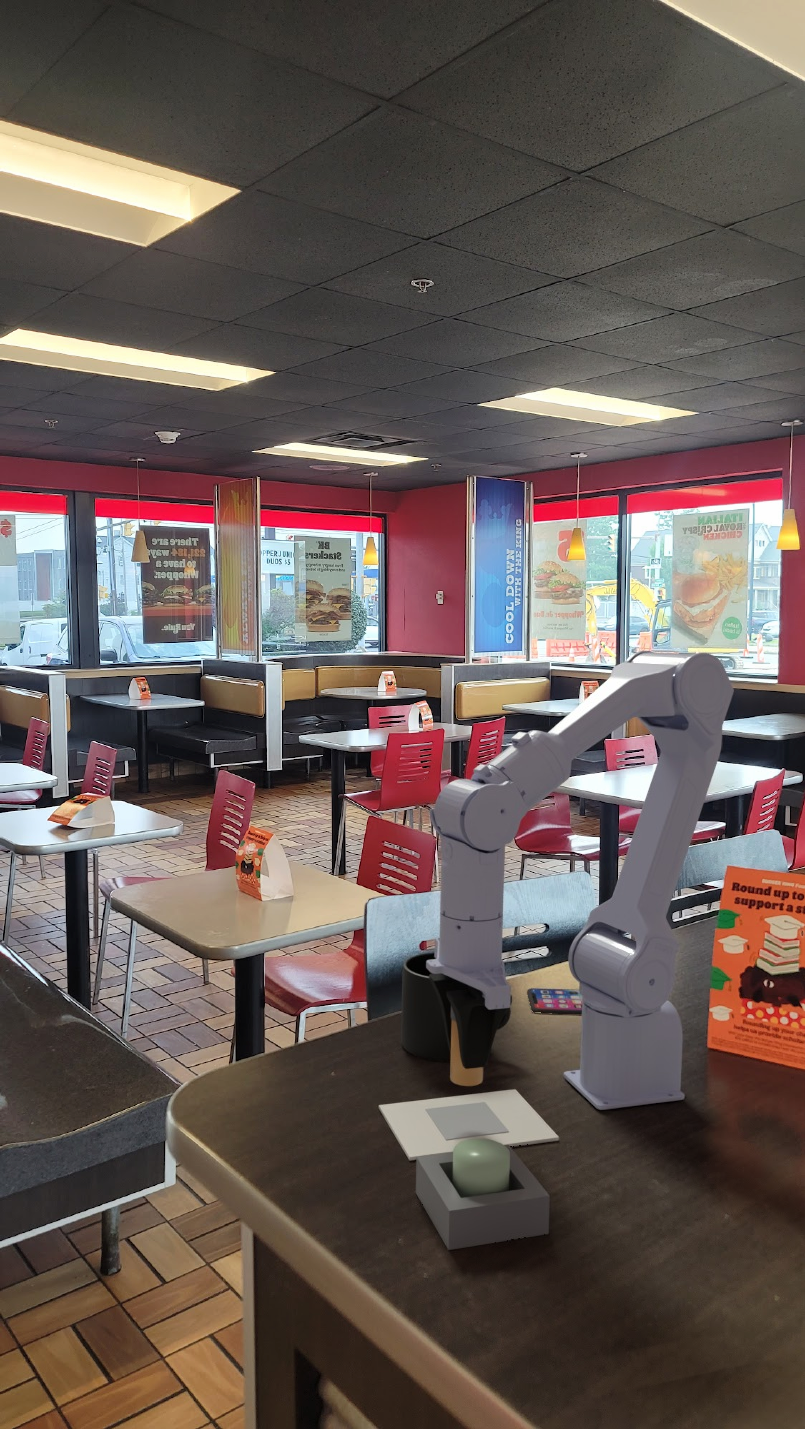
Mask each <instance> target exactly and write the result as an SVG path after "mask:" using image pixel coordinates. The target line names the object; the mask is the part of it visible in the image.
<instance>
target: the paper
mask: <svg viewBox="0 0 805 1429" xmlns="http://www.w3.org/2000/svg"><path fill="white" fill-rule="evenodd" d="M378 1110H379V1112H380V1113H381V1114H382V1117H383V1118H384V1120H385V1122H386V1123H387V1125H388V1127H389V1128H390V1130H391V1132H392V1133H393V1135H394V1137H395V1138H396V1140H397V1142H398V1144H399V1145H400V1147H401V1149H402V1150H403V1152H404V1154H405V1155H406V1157H407V1159H408V1161H409V1162H410V1161H415V1160H417V1157H420V1156H428V1155H435V1154H443V1153H450V1152H453V1149H454V1147H455V1146H456V1145H457V1144H458V1143H460V1142H462V1141H464V1140H468V1139H475V1138H481V1139H489V1140H494V1141H497V1142H499V1143H501V1144H503V1145H509V1146H512V1147H511V1148H513V1146H514V1147H520V1146H519V1145H521V1146H528V1145H534V1144H542V1143H548V1142H549V1143H550V1142H558V1141H560V1137H559V1135H558V1134H556V1132H555V1131H554V1130H553V1128H551V1126H549V1125H548V1123H546V1121H545V1120H544V1119H543V1118H542V1117H541V1116H540V1115H539V1113H538V1112H537V1111H536V1110H535V1109H534V1107H532V1106H531V1105H530V1104H529V1103H528V1102H527V1100H526V1099H525V1098H524V1097H523V1096H522V1095H521V1094H520V1093H519V1092H518V1090H517V1089H516V1088H514V1089H507V1090H506V1089H504V1090H497V1091H490V1092H482V1093H472V1094H464V1095H455V1096H447V1097H446V1096H445V1097H437V1098H431V1099H430V1098H429V1099H422V1100H421V1099H420V1100H414V1101H403V1102H395V1103H387V1104H379V1105H378ZM527 1144H528V1145H527Z"/></svg>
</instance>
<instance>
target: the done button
mask: <svg viewBox="0 0 805 1429" xmlns="http://www.w3.org/2000/svg"><path fill="white" fill-rule="evenodd" d="M509 1172H510V1152H509V1150H508V1148H507V1147H506V1146H504V1145H503V1144H501V1143H499V1142H497V1141H494V1140H489V1139H481V1138H475V1139H468V1140H464V1141H462V1142H460V1143H458V1144H457V1145H456V1146H455V1147H454V1149H453V1182H452V1185H453V1187H454V1188H455V1190H456V1191H457V1193H458V1194H459V1196H460V1197H461V1198H465V1197H472V1196H479V1195H485V1194H492V1193H499V1192H506V1191H509Z"/></svg>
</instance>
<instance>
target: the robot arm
mask: <svg viewBox="0 0 805 1429" xmlns="http://www.w3.org/2000/svg"><path fill="white" fill-rule="evenodd" d="M734 691H735V689H734V688H733V684H732V682H731V680H730V677H729V675H728V673H727V670H726V668H725V667H724V665H723V663H722V662H721V660H719V659H718V657H716V656H715V655H713V654H711V653H707V652H697V653H674V652H654V651H652V650H640V651H637V652H635V653H632V654H631V655H630V656H629V657H627V659H626V660H625V661H624V662H621V663H620V664H619V663H618V664H617V665H615V666H614V667H613V668H612V669H611V673H610V676H609V677H608V679H607V680H605V682H603V683H602V684H601V685H600V686H599V687H598V688H597V689H595V690H594V691H593V692H592V693H591V694H589V696H587V697H586V698H585V699H584V700H583V701H582V702H580V703H579V704H578V705H577V706H575V708H574V709H573V710H572V711H571V712H569V713H568V714H567V715H566V716H564V718H563V719H561V720H560V721H559V722H558V723H557V724H555V726H554V727H552V728H551V729H550V730H549V731H548V732H546V731H542V730H536V729H535V730H534V729H533V730H529V731H528V732H523V731H519V732H517V733H516V734H515V735H512V737H511V738H510V742H511V745H509V746H508V747H507V748H506V749H505V750H503V751H502V752H500V753H499V754H498V755H497V756H495V757H494V758H493V759H491V760H490V761H489V762H487V763H486V764H482V763H480V764H479V765H477V766H476V767H475V768H473V774H472V775H471V777H470V779H469V778H468V779H467V778H463V779H459V778H458V779H455V780H453V781H451V782H449V783H448V784H446V785H445V786H444V787H443V788H442V790H441V791H440V792H439V794H438V796H437V799H436V800H435V804H434V807H432V808H430V809H429V819H430V821H431V822H430V823H431V825H432V827H433V828H434V830H435V831H436V832H437V834H438V837H439V840H440V852H441V858H440V859H441V862H440V863H441V864H440V865H441V866H440V895H439V896H440V898H439V900H440V902H439V903H440V904H439V905H440V906H439V911H440V912H439V913H440V914H439V937H435V938H434V952H435V953H434V957H435V958H436V959H432V960H427V961H426V968H427V969H428V970H429V971H430V972H431V973H432V974H430V975H429V979H430V982H431V984H432V986H433V988H434V990H435V992H436V995H437V998H438V1001H439V1004H440V1007H441V1011H442V1016H443V1021H444V1026H445V1032H446V1038H447V1042H448V1046H449V1050H450V1051H451V1027H452V1019H451V1006H452V1009H453V1012H454V1015H455V1019H456V1023H457V1029H458V1037H459V1049H460V1057H461V1061H462V1065H463V1067H464V1068H465V1069H471V1068H480V1067H483V1068H486V1067H487V1065H488V1062H489V1058H490V1055H491V1051H492V1047H493V1043H494V1040H495V1037H496V1034H497V1031H498V1030H499V1029H498V1026H499V1024H500V1022H501V1020H502V1018H503V1016H504V1014H505V1013H506V1011H507V1010H508V1008H510V1009H511V1006H512V1004H513V996H512V994H511V992H512V986H511V985H510V984H509V983H508V981H507V976H506V970H505V968H506V967H505V962H504V959H503V956H502V955H503V924H504V889H505V866H506V865H505V863H506V862H505V860H506V859H505V858H506V845H509V844H511V843H512V842H513V840H514V839H515V837H516V835H517V833H518V831H519V828H520V826H521V821H522V819H524V817H525V816H526V815H527V813H528V812H530V810H532V809H533V808H534V807H536V805H538V804H539V803H540V802H542V801H544V799H545V798H547V797H548V796H549V795H550V794H552V793H553V792H554V791H556V790H557V789H558V788H559V787H560V786H562V785H563V784H564V783H565V782H567V780H569V779H570V776H571V773H572V761H573V760H575V759H576V758H577V757H578V756H580V755H581V754H583V753H584V752H586V751H587V750H588V749H590V748H591V747H593V746H594V745H596V744H597V743H599V742H600V741H602V740H603V739H604V738H606V737H607V736H609V734H612V733H613V732H614V731H616V730H617V729H619V728H620V727H621V726H623V725H624V724H626V723H627V722H629V721H630V720H632V719H634V718H637V719H638V720H639V721H640V723H641V724H642V725H643V726H644V727H645V728H646V730H647V731H648V732H649V733H650V734H651V735H652V736H653V738H654V740H655V741H656V744H657V745H658V748H659V750H660V754H659V757H658V760H657V763H656V766H655V770H654V772H653V775H652V778H651V780H650V784H649V787H648V790H647V793H646V797H645V799H644V802H643V805H642V808H641V810H640V814H639V817H638V820H637V822H636V826H635V828H634V831H633V834H632V837H631V840H630V842H629V846H628V849H627V852H626V855H625V858H624V861H623V864H622V867H621V869H620V873H619V876H618V879H617V881H616V885H615V888H614V891H613V894H612V897H611V898H610V899H608V900H606V901H605V902H602V903H601V904H599V905H598V906H596V907H595V908H593V909H592V910H591V911H590V912H589V915H588V917H587V921H586V923H585V924H584V926H583V928H582V929H581V931H579V933H578V934H577V935H576V936H575V937H574V939H573V941H572V943H571V945H570V947H569V952H568V958H567V959H568V960H567V961H568V962H567V963H568V968H569V971H570V973H571V975H572V976H573V978H574V980H576V982H578V983H579V986H578V988H579V989H578V990H579V993H580V994H581V995H582V999H583V1000H582V1015H581V1026H580V1027H581V1029H580V1030H581V1032H580V1033H581V1034H580V1056H579V1057H580V1058H579V1059H580V1063H579V1069H576V1070H566V1071H564V1072H563V1078H564V1079H565V1080H566V1081H567V1082H569V1083H570V1084H571V1085H572V1086H573V1087H574V1088H575V1090H577V1091H578V1092H579V1093H580V1094H581V1095H582V1096H583V1097H584V1098H586V1099H587V1100H588V1102H589V1103H591V1105H593V1106H594V1107H595V1108H596V1109H597V1110H600V1111H602V1110H604V1111H605V1110H612V1109H619V1108H629V1107H635V1106H644V1105H650V1104H656V1103H659V1104H661V1103H667V1102H675V1101H682V1100H684V1099H685V1096H686V1095H685V1093H684V1092H682V1091H681V1084H682V1083H681V1082H682V1063H683V1062H682V1059H683V1039H684V1038H683V1034H684V1033H683V1026H682V1021H681V1018H680V1015H679V1012H678V1011H677V1009H676V1007H675V1005H673V1004H672V1002H671V1001H669V1000H668V999H669V997H670V996H671V994H672V992H673V990H674V987H675V986H674V985H675V980H676V970H675V969H676V967H675V966H676V964H675V962H676V958H677V955H678V954H677V953H678V951H679V949H680V948H679V946H680V944H679V941H678V938H677V937H676V935H675V933H674V932H673V929H672V928H671V926H670V924H669V921H668V920H667V914H668V912H669V908H670V906H671V902H672V899H673V896H674V893H675V890H676V887H677V885H678V884H677V883H678V881H679V878H680V875H681V872H682V869H683V866H684V864H685V859H686V857H687V854H688V850H689V849H690V846H691V843H692V839H693V836H694V833H695V830H696V826H697V824H698V822H699V818H700V815H701V812H702V809H703V806H704V804H705V800H706V797H707V794H708V791H709V788H710V786H711V782H712V779H713V776H714V772H715V770H716V766H717V764H718V761H719V759H720V755H721V750H722V742H723V741H722V740H723V725H724V721H725V719H726V717H727V713H728V710H729V707H730V704H731V702H732V699H733V695H734ZM626 934H629V935H631V936H632V937H633V938H634V939H635V940H634V939H632V938H630V937H628V936H626ZM497 1029H498V1030H497Z"/></svg>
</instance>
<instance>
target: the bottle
mask: <svg viewBox="0 0 805 1429" xmlns="http://www.w3.org/2000/svg"><path fill="white" fill-rule="evenodd" d="M451 1019H452V1027H451V1062H450V1063H449V1064H450V1067H449V1068H450V1069H449V1070H450V1072H449V1073H450V1075H449V1078H450V1079H449V1080H450V1081H451V1082H452V1083H453V1084H455V1085H458V1086H461V1087H462V1086H464V1087H473V1086H478V1085H479V1084H482V1083H483V1080H484V1067H480V1068H471V1069H465V1068H464V1067H463V1065H462V1061H461V1057H460V1049H459V1037H458V1029H457V1023H456V1019H455V1015H454V1012H453V1009H452V1006H451Z"/></svg>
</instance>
